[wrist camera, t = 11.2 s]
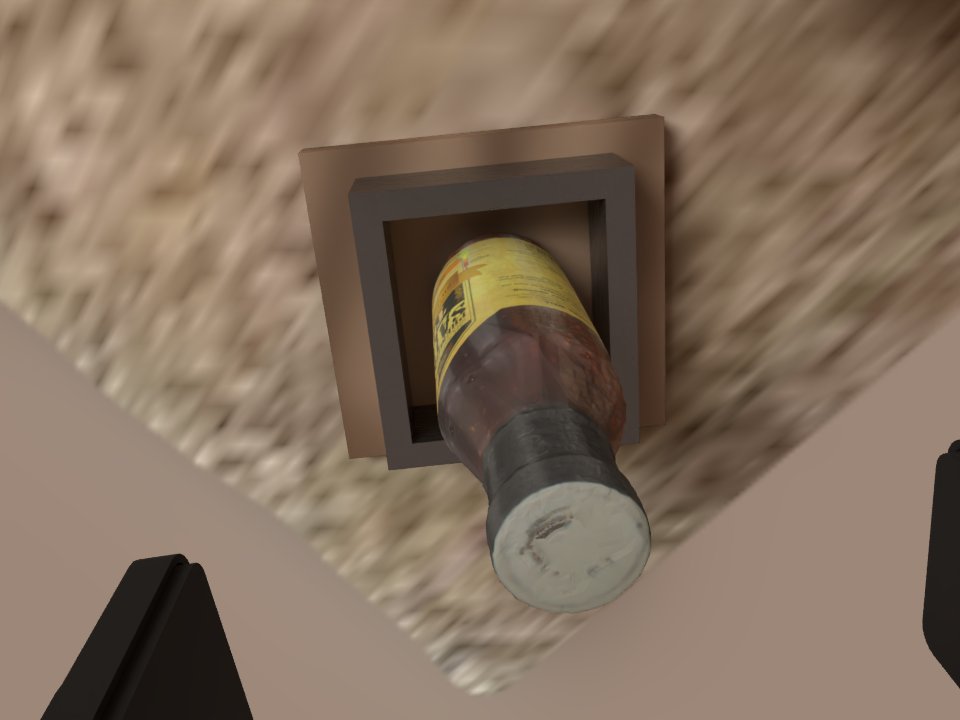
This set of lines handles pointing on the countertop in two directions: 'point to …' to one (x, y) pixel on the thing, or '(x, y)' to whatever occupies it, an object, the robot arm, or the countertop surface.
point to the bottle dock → (460, 217)
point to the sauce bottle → (536, 424)
